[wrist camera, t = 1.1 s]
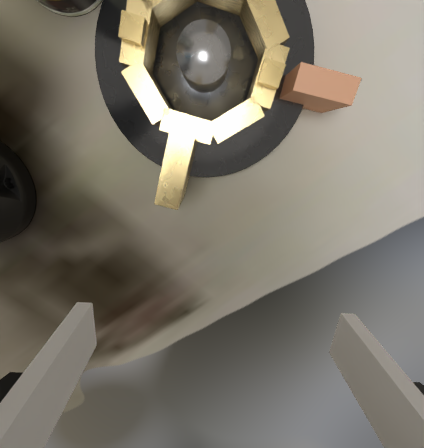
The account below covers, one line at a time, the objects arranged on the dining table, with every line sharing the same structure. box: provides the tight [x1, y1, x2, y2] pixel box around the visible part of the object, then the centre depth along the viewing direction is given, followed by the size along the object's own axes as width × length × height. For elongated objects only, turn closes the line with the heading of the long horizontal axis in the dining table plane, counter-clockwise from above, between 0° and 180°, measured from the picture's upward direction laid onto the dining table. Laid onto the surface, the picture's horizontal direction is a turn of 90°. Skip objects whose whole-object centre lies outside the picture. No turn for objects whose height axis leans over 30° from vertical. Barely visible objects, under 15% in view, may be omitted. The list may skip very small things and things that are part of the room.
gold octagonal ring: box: [118, 0, 290, 210], centre depth 25 cm, size 22×15×7 cm
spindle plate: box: [95, 0, 314, 177], centre depth 26 cm, size 24×24×7 cm
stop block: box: [279, 62, 362, 113], centre depth 27 cm, size 6×2×7 cm, turn 77°
